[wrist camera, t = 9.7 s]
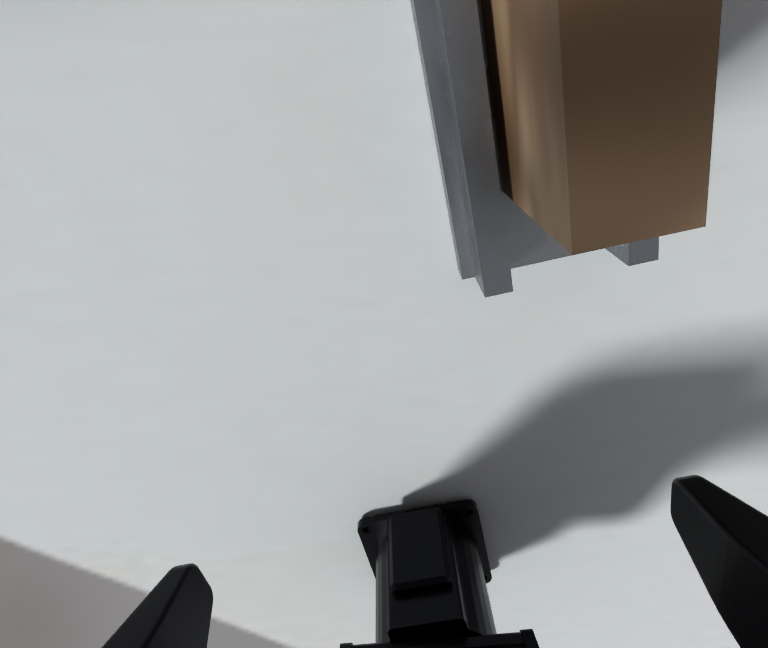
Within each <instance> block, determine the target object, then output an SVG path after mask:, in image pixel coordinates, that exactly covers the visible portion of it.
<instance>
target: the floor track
mask: <svg viewBox="0 0 768 648" xmlns="http://www.w3.org/2000/svg"><path fill="white" fill-rule="evenodd" d="M411 5H412V11H413V17H414V22H415V28H416V34H417V39H418V45H419V50H420V56H421V62H422V67H423V73H424V79H425V84H426V90H427V95H428V101H429V107H430V112H431V118H432V124H433V129H434V135H435V140H436V146H437V152H438V157H439V163H440V169H441V174H442V180H443V185H444V191H445V197H446V202H447V208H448V214H449V219H450V225H451V230H452V236H453V242H454V247H455V253H456V259H457V264H458V270H459V273H460V275H461V277H462V279H467V278H471V277H475V278H476V280H477V282H478V284H479V286H480V288H481V290H482V292H483V294H484V296H485V297H489V296H493V295H498V294H503V293H507V292H512V291H513V286H512V278H511V270H510V269H512V268H516V267H521V266H525V265H530V264H534V263H539V262H543V261H548V260H552V259H557V258H561V257H566V256H570V255H571V254H570V253H569V252H568V251H567V250H566V249H565V248H564V247H563V246H562V245H561V244H559V243H558V242H557V241H556V240H555V239H554V238H553V237H552V236H551V235H550V234H549V233H547V232H546V231H545V230H544V229H543V228H542V227H541V226H540V225H539V224H538V223H536V222H535V221H534V220H533V219H532V218H531V217H530V216H529V215H528V214H527V213H526V212H524V211H523V210H522V209H521V208H520V207H519V206H518V205H517V204H516V203H515V202H514V201H512V200H511V199H510V198H509V197H508V196H507V195H506V194H505V193H504V192H503V188H502V179H501V171H500V162H499V154H498V145H497V137H496V128H495V119H494V111H493V102H492V94H491V85H490V77H489V68H488V60H487V51H486V43H485V34H484V25H483V17H482V8H481V0H411ZM605 249H607V250H608V251H609V252H611V253H612V254H613V255H615V256H616V257H617V258H619V259H620V260H621V261H623V262H624V263H625V264H627V265H628V266H631V265H636V264H640V263H645V262H649V261H654V260H658V249H659V237H654V238H649V239H645V240H640V241H635V242H631V243H626V244H622V245H617V246H612V247H608V248H605Z"/></svg>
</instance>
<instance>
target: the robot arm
mask: <svg viewBox="0 0 768 648" xmlns="http://www.w3.org/2000/svg"><path fill="white" fill-rule="evenodd" d="M466 509H469V510H466ZM671 516H672V519H673V522H674V524H675V526H676V528H677V530H678V532H679V534H680V536H681V538H682V540H683V542H684V544H685V546H686V548H687V550H688V552H689V554H690V556H691V558H692V560H693V562H694V564H695V566H696V568H697V570H698V572H699V574H700V576H701V578H702V580H703V582H704V584H705V586H706V588H707V590H708V593H709V595H710V597H711V598H712V600H713V602H714V604H715V606H716V608H717V610H718V612H719V613H720V615H721V617H722V618H723V620H724V622H725V623H726V625H727V627H728V628H729V630H730V632H731V633H732V635H733V636H734V638H735V640H736V641H737V643H738V644H739V646H740V648H768V516H766V515H765V514H763V513H761V512H760V511H758V510H756V509H755V508H753V507H751V506H750V505H748V504H746V503H745V502H743V501H741V500H740V499H738V498H736V497H735V496H733V495H731V494H730V493H728V492H726V491H725V490H723V489H721V488H720V487H718V486H716V485H715V484H713V483H711V482H710V481H708V480H706V479H705V478H703V477H701V476H698V475H691V476H686V477H680V478H676V479H674V480H673V482H672V490H671ZM358 533H359V536H360V538H361V541H362V544H363V546H364V549H365V552H366V554H367V557H368V560H369V562H370V565H371V568H372V570H373V573H374V576H375V578H376V643H372V644H359V645H353V643H342V644H340V648H539V646H538V643H537V640H536V638H535V635H534V632H533V630H532V629H525V630H520V632H516V633H503V634H496V629H495V625H494V620H493V615H492V610H491V606H490V601H489V596H488V592H487V587H486V583H488V582H490V581H491V579H492V576H491V571H490V567H489V562H488V557H487V552H486V547H485V543H484V538H483V533H482V528H481V523H480V519H479V514H478V509H477V505H476V503H475V502H474V501H473V500H461V501H456V502H450V503H445V504H439V505H433V506H428V507H422V508H417V509H411V510H405V511H400V512H394V513H389V514H383V515H377V516H372V517H366V518H363V519H361V520H359V522H358ZM212 605H213V593H212V589H211V587H210V585H209V584H208V582H207V581H206V579H205V577H204V576H203V574H202V573H201V571H200V569H199V568H198V566H197V565H195V564H185V565H179V566H175V567H173V568H172V569H171V570H170V571H169V572H168V573H167V574H166V575H165V576H164V577H163V578H162V580H161V581H160V582H159V583H158V584H157V585H156V586H155V588H154V589H153V590H152V591H151V592H150V593H149V594H148V595H147V597H146V598H145V599H144V600H143V601H142V602H141V603H140V605H139V606H138V607H137V608H136V609H135V610H134V611H133V613H132V614H131V615H130V616H129V617H128V618H127V619H126V621H125V622H124V623H123V624H122V625H121V626H120V627H119V628H118V630H117V631H116V632H115V633H114V634H113V635H112V636H111V637H110V639H109V640H108V641H107V642H106V643H105V644H104V646H103V647H102V648H207V641H208V633H209V627H210V619H211V612H212Z"/></svg>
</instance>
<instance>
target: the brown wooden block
mask: <svg viewBox="0 0 768 648" xmlns="http://www.w3.org/2000/svg"><path fill="white" fill-rule="evenodd" d="M481 8H482V17H483V25H484V34H485V43H486V51H487V60H488V68H489V77H490V85H491V94H492V102H493V111H494V119H495V128H496V137H497V145H498V154H499V162H500V171H501V179H502V188H503V192H504V193H505V194H506V195H507V196H508V197H509V198H510V199H511V200H512V201H514V202H515V203H516V204H517V205H518V206H519V207H520V208H521V209H522V210H523V211H524V212H526V213H527V214H528V215H529V216H530V217H531V218H532V219H533V220H534V221H535V222H536V223H538V224H539V225H540V226H541V227H542V228H543V229H544V230H545V231H546V232H547V233H549V234H550V235H551V236H552V237H553V238H554V239H555V240H556V241H557V242H558V243H559V244H561V245H562V246H563V247H564V248H565V249H566V250H567V251H568V252H569V253H570V254H571V255H575V254H580V253H585V252H589V251H594V250H598V249H603V248H608V247H612V246H617V245H622V244H626V243H631V242H635V241H640V240H645V239H649V238H654V237H659V236H663V235H668V234H672V233H677V232H682V231H686V230H691V229H695V228H700V227H705V226H706V213H707V199H708V185H709V172H710V158H711V145H712V131H713V118H714V104H715V91H716V77H717V63H718V50H719V36H720V23H721V9H722V0H481Z"/></svg>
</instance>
